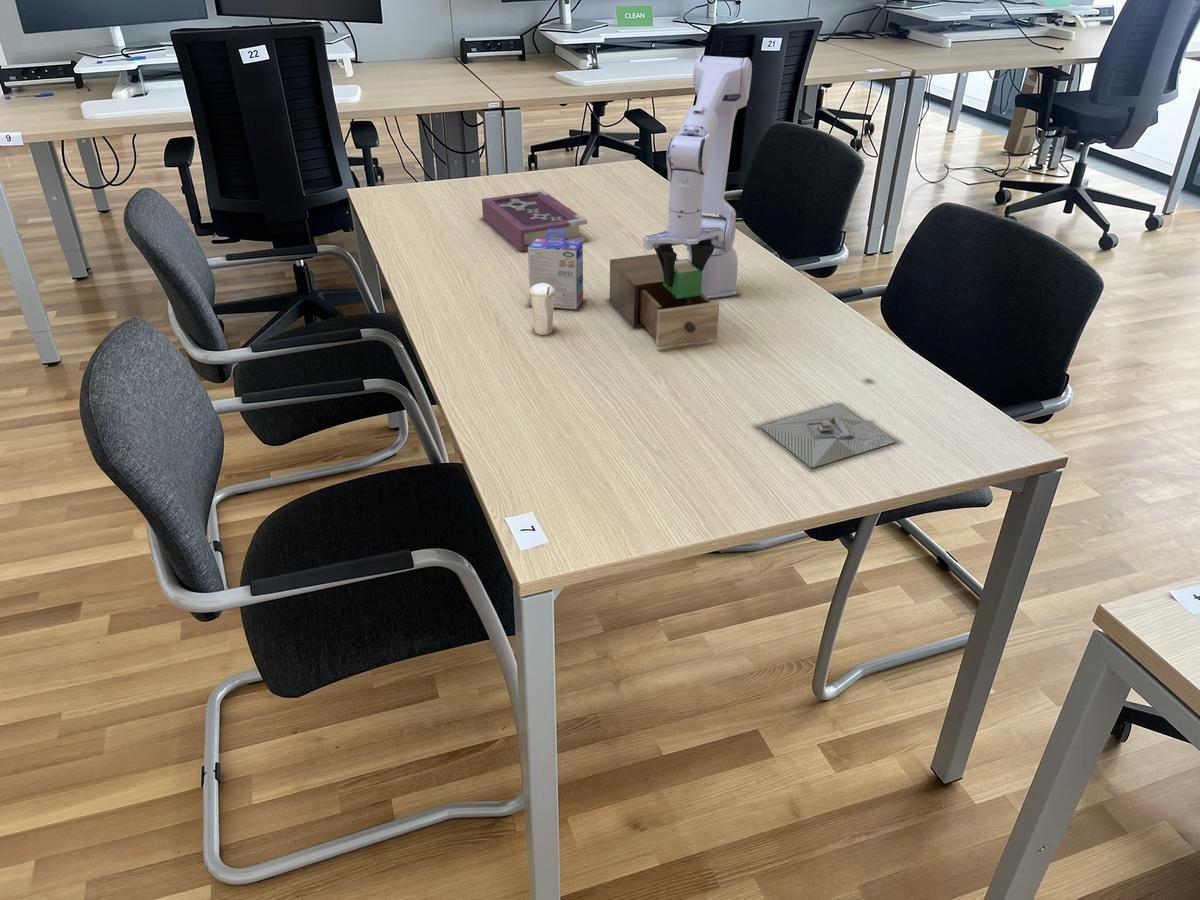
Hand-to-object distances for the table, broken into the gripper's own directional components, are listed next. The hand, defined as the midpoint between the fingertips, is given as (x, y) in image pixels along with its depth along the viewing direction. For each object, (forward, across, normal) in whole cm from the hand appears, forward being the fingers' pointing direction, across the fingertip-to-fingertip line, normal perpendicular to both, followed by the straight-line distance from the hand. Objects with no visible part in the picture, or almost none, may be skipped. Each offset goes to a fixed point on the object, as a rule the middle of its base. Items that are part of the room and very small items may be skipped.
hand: (681, 282), depth 164 cm
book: (+10, -10, +64) cm, 65 cm away
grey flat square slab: (+10, +12, -38) cm, 41 cm away
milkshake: (+10, -23, +8) cm, 27 cm away
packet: (+1, 0, 0) cm, 1 cm away
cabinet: (+10, -1, +12) cm, 15 cm away
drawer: (+9, -1, 0) cm, 9 cm away
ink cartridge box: (+10, -17, +20) cm, 29 cm away
